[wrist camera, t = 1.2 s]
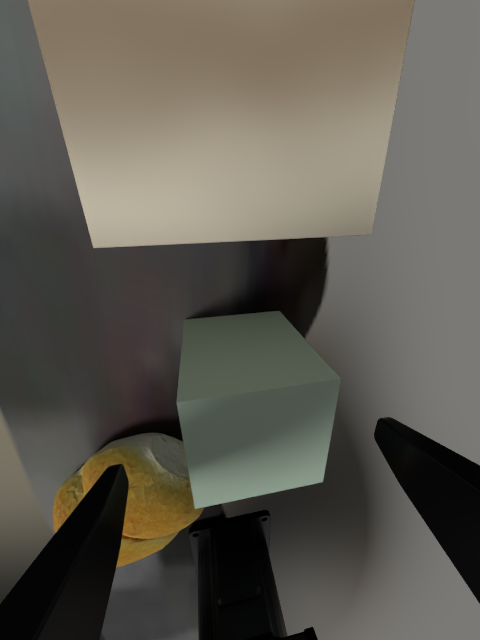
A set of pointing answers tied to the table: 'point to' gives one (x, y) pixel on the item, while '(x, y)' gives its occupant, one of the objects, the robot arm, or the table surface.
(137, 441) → the bread roll
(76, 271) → the table surface
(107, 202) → the birch base
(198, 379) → the green block
